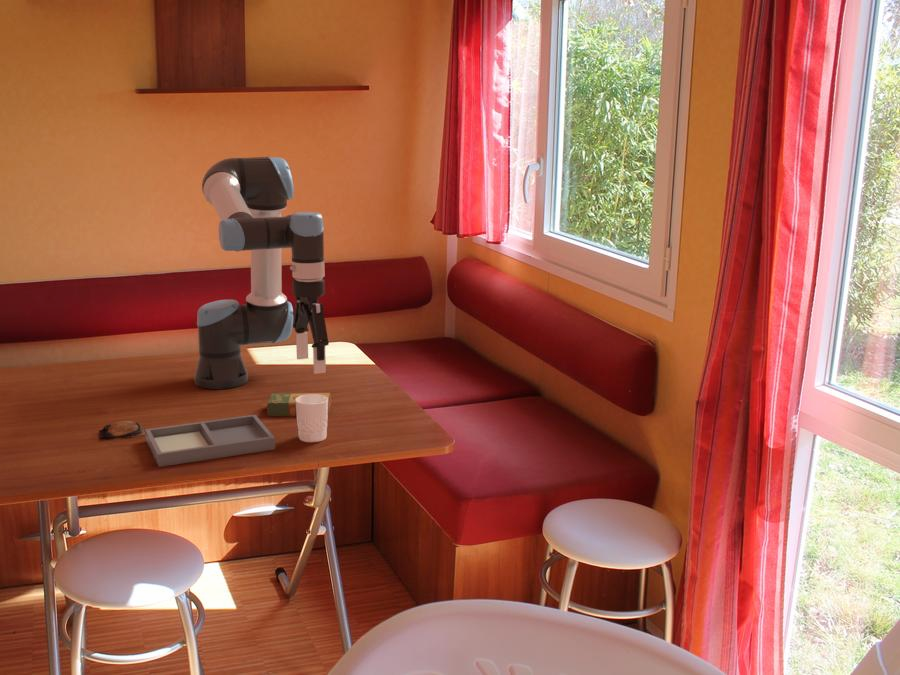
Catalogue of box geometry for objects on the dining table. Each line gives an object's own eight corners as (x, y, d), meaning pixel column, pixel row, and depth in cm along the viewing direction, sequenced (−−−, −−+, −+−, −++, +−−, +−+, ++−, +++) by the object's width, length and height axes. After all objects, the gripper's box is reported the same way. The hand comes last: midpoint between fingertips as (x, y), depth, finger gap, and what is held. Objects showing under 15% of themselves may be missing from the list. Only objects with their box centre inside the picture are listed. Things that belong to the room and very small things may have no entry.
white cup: (299, 432, 246) (298, 393, 244) (331, 432, 246) (330, 394, 244) (293, 443, 239) (292, 403, 236) (326, 443, 238) (325, 404, 236)
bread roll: (141, 427, 250) (140, 413, 249) (146, 438, 243) (145, 423, 242) (97, 433, 246) (96, 418, 245) (100, 443, 239) (99, 429, 238)
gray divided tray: (145, 441, 239) (145, 429, 238) (255, 425, 250) (255, 414, 250) (158, 466, 223) (157, 454, 223) (275, 449, 235) (274, 437, 234)
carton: (328, 417, 258) (328, 401, 257) (266, 417, 258) (266, 402, 257) (331, 406, 266) (330, 391, 265) (271, 407, 266) (270, 392, 265)
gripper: (278, 270, 242) (281, 354, 247) (309, 289, 220) (311, 381, 225) (307, 268, 245) (310, 351, 250) (341, 287, 223) (343, 377, 228)
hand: (311, 365), depth 238 cm, fingers open, 13 cm apart
